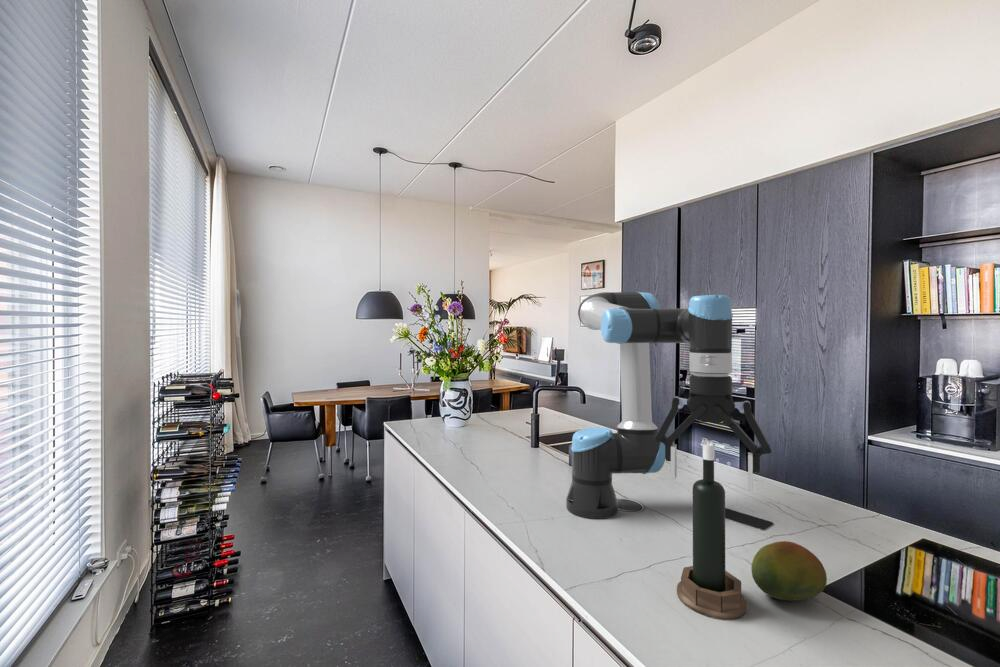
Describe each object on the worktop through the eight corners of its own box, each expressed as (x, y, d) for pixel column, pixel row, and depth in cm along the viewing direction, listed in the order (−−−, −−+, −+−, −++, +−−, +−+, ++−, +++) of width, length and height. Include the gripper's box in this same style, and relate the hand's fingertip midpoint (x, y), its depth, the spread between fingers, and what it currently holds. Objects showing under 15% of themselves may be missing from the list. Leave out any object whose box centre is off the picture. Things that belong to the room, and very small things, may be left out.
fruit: (834, 600, 86) (834, 549, 86) (806, 625, 79) (806, 569, 78) (770, 573, 95) (770, 527, 95) (740, 593, 88) (740, 543, 88)
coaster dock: (672, 606, 84) (672, 586, 84) (681, 575, 95) (681, 557, 95) (747, 627, 78) (747, 606, 78) (747, 591, 89) (747, 572, 89)
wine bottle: (710, 606, 82) (709, 446, 82) (686, 590, 88) (685, 439, 88) (732, 599, 85) (731, 443, 85) (707, 583, 90) (707, 436, 90)
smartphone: (719, 505, 132) (774, 522, 120) (719, 508, 132) (775, 525, 120) (707, 512, 127) (763, 530, 115) (707, 514, 127) (763, 532, 115)
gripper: (640, 373, 89) (641, 478, 89) (787, 379, 77) (788, 500, 77) (648, 370, 96) (648, 468, 96) (784, 375, 83) (784, 487, 83)
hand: (710, 483), depth 86 cm, fingers open, 13 cm apart
